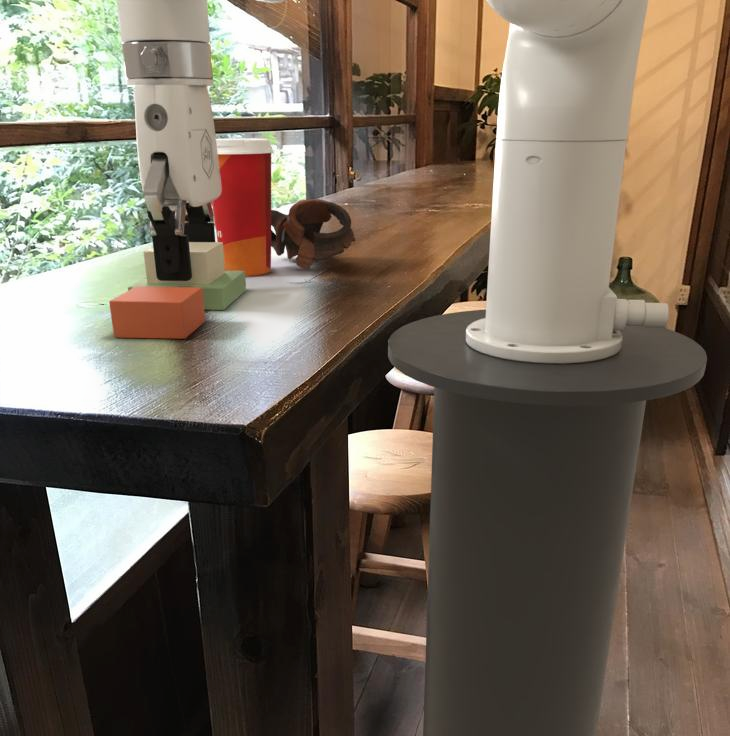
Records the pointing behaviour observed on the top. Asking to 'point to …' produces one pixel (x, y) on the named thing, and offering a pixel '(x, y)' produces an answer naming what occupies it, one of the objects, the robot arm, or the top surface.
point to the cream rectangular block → (193, 264)
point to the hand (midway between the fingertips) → (188, 270)
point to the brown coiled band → (310, 231)
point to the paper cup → (244, 204)
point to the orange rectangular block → (157, 312)
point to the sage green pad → (212, 289)
